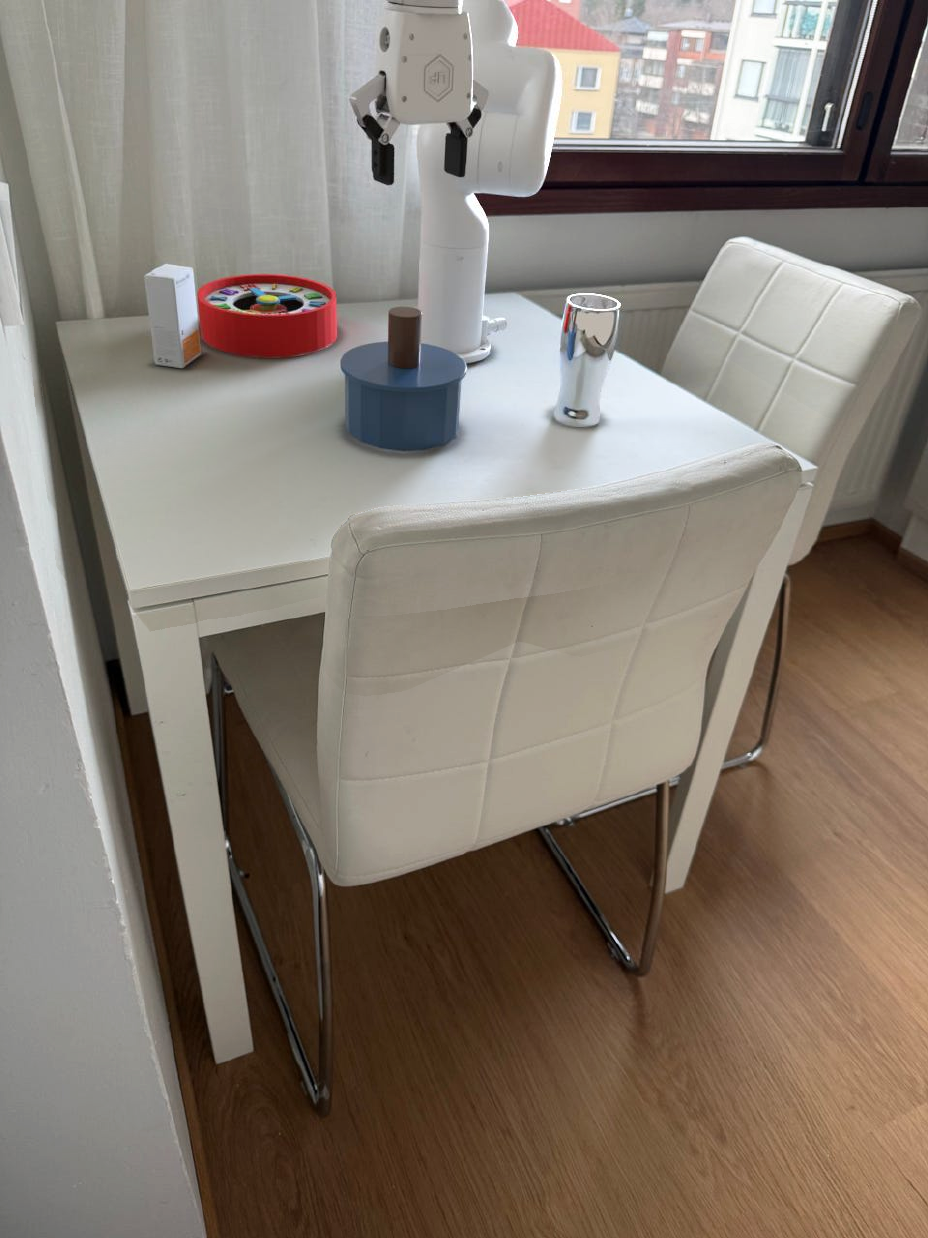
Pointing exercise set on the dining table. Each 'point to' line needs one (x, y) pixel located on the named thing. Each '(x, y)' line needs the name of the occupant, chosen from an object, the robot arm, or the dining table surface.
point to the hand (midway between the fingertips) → (419, 178)
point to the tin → (402, 416)
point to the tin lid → (403, 359)
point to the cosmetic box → (173, 315)
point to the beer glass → (585, 356)
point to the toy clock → (267, 315)
